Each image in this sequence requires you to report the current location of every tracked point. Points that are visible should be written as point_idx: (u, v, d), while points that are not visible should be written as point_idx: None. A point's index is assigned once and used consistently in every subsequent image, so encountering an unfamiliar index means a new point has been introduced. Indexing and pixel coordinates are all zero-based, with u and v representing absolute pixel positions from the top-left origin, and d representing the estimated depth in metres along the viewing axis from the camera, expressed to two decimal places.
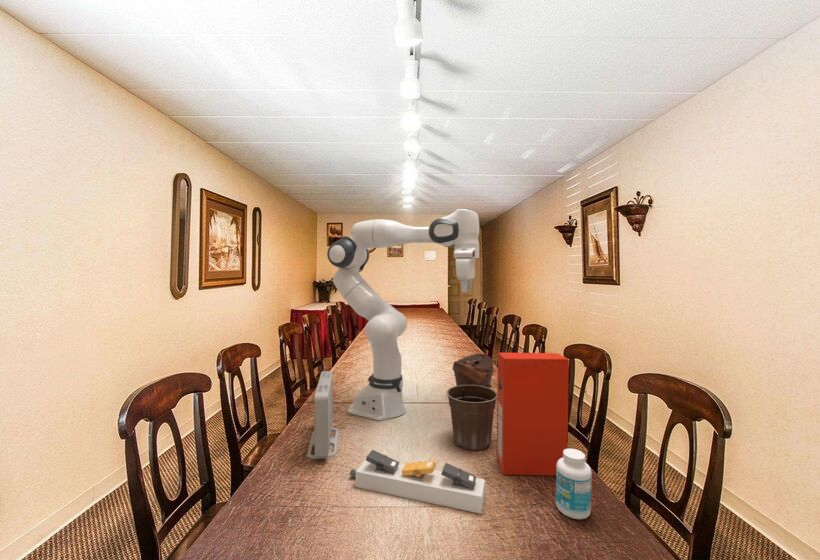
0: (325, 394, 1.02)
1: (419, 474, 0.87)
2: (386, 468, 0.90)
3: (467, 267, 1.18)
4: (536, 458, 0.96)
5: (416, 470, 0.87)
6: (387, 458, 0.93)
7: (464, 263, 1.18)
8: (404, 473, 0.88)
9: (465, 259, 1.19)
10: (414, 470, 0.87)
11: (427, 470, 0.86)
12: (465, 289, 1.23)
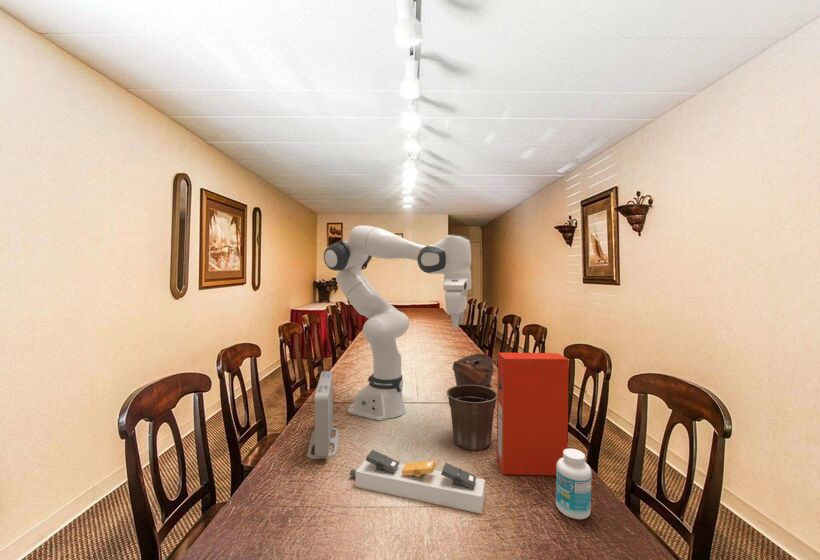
0: (325, 394, 1.02)
1: (419, 474, 0.87)
2: (386, 468, 0.90)
3: (458, 301, 1.06)
4: (536, 458, 0.96)
5: (416, 470, 0.87)
6: (387, 458, 0.93)
7: (454, 296, 1.06)
8: (404, 473, 0.88)
9: (456, 292, 1.07)
10: (414, 470, 0.87)
11: (427, 470, 0.86)
12: (456, 325, 1.10)
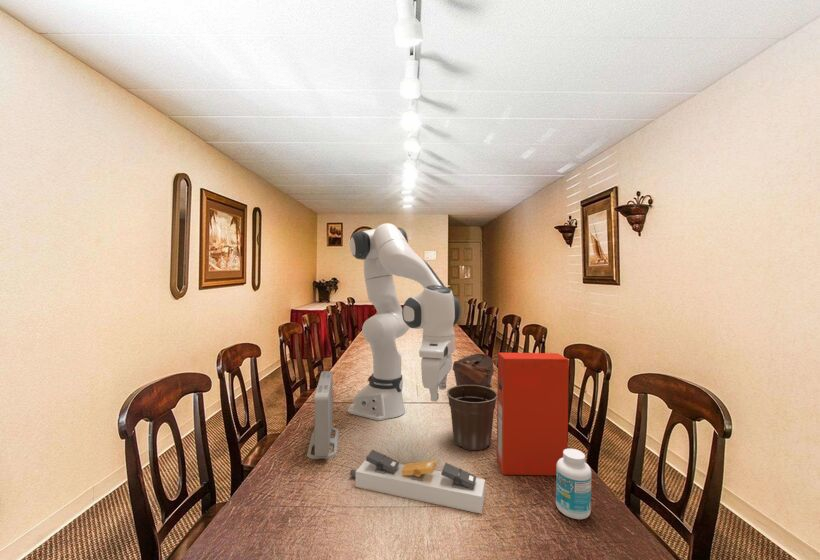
0: (325, 394, 1.02)
1: (419, 474, 0.87)
2: (386, 468, 0.90)
3: (436, 373, 0.87)
4: (536, 458, 0.96)
5: (416, 470, 0.87)
6: (387, 458, 0.93)
7: (432, 366, 0.88)
8: (404, 473, 0.88)
9: (434, 361, 0.88)
10: (414, 470, 0.87)
11: (427, 470, 0.86)
12: (435, 397, 0.92)
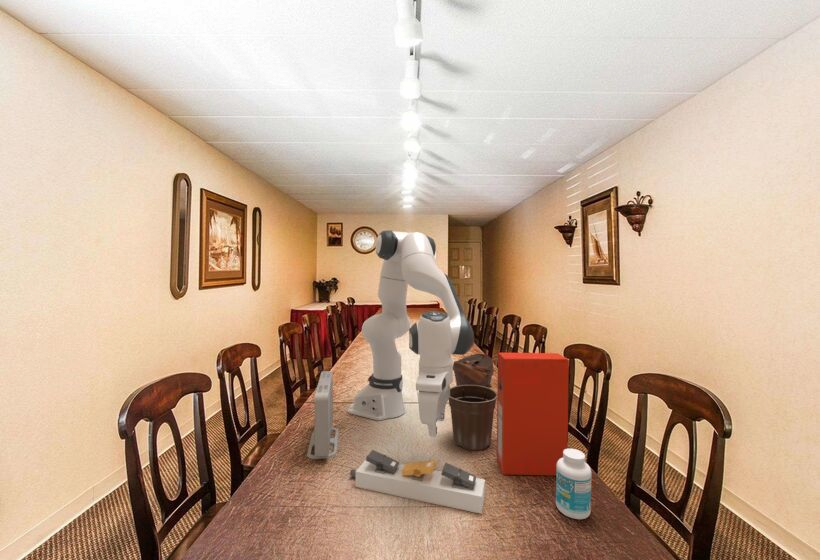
0: (325, 394, 1.02)
1: (419, 474, 0.87)
2: (386, 468, 0.90)
3: (434, 408, 0.82)
4: (536, 458, 0.96)
5: (416, 470, 0.87)
6: (387, 458, 0.93)
7: (430, 401, 0.82)
8: (404, 473, 0.88)
9: (432, 395, 0.83)
10: (414, 470, 0.87)
11: (427, 470, 0.86)
12: (434, 432, 0.86)
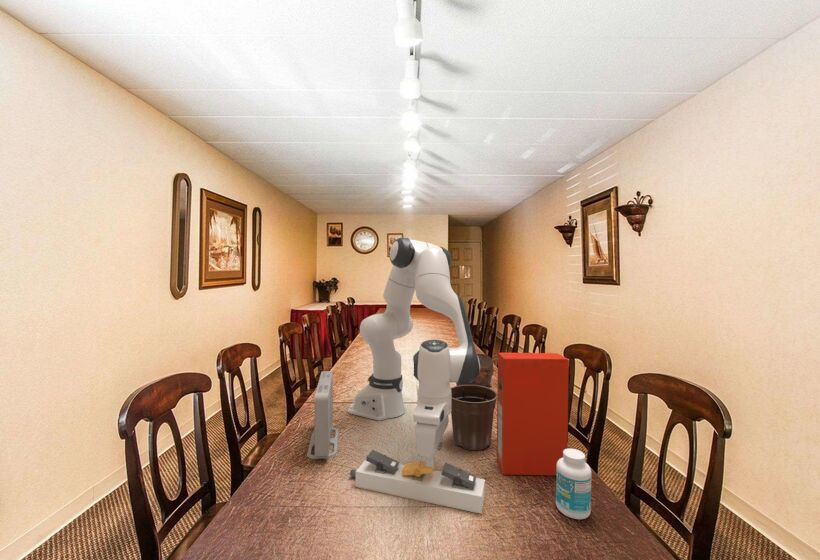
0: (325, 394, 1.02)
1: (419, 474, 0.87)
2: (386, 468, 0.90)
3: (432, 441, 0.82)
4: (536, 458, 0.96)
5: (416, 470, 0.87)
6: (387, 458, 0.93)
7: (427, 434, 0.82)
8: (404, 473, 0.88)
9: (430, 427, 0.83)
10: (414, 470, 0.87)
11: (427, 470, 0.86)
12: (431, 463, 0.86)
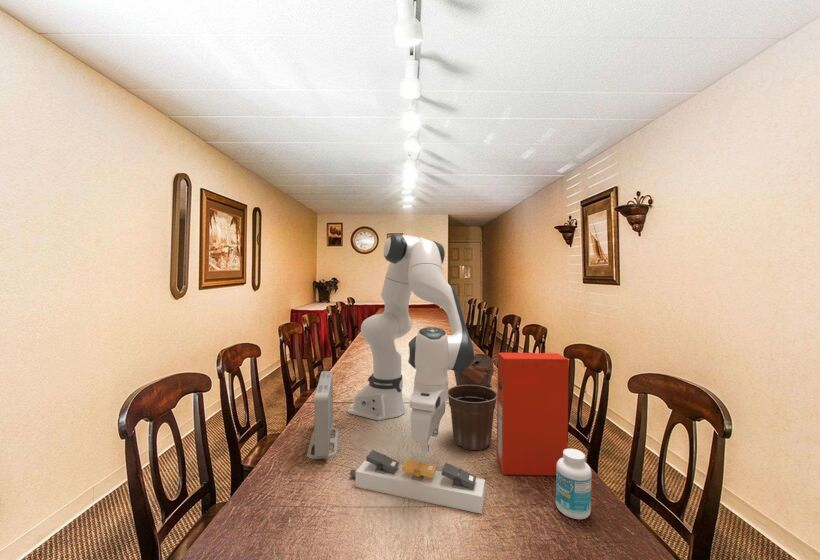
0: (325, 394, 1.02)
1: (419, 475, 0.87)
2: (386, 468, 0.90)
3: (427, 427, 0.82)
4: (536, 458, 0.96)
5: (417, 470, 0.87)
6: (387, 458, 0.93)
7: (422, 420, 0.82)
8: (404, 469, 0.88)
9: (425, 414, 0.83)
10: (415, 469, 0.87)
11: (428, 473, 0.86)
12: (426, 450, 0.86)
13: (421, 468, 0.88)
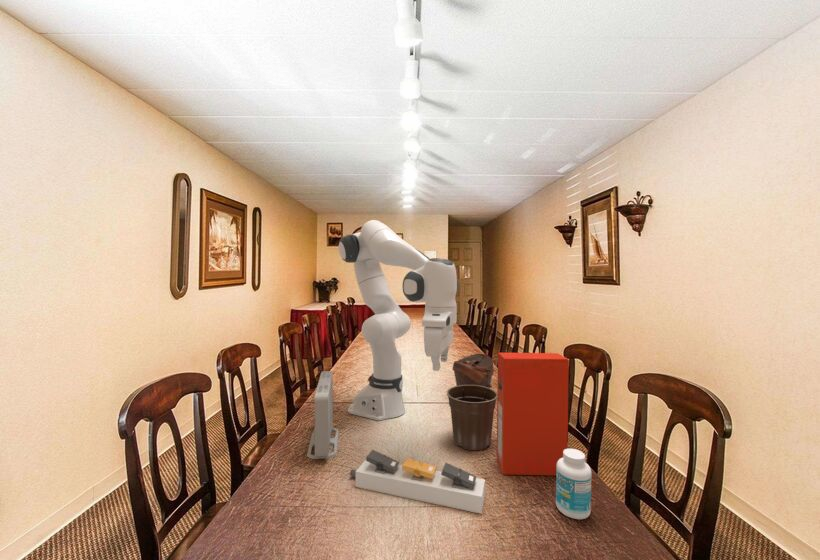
0: (325, 394, 1.02)
1: (419, 475, 0.87)
2: (386, 468, 0.90)
3: (439, 341, 0.89)
4: (536, 458, 0.96)
5: (417, 470, 0.87)
6: (387, 458, 0.93)
7: (434, 335, 0.89)
8: (404, 468, 0.88)
9: (437, 330, 0.90)
10: (415, 469, 0.87)
11: (428, 474, 0.86)
12: (437, 366, 0.93)
13: (421, 468, 0.88)
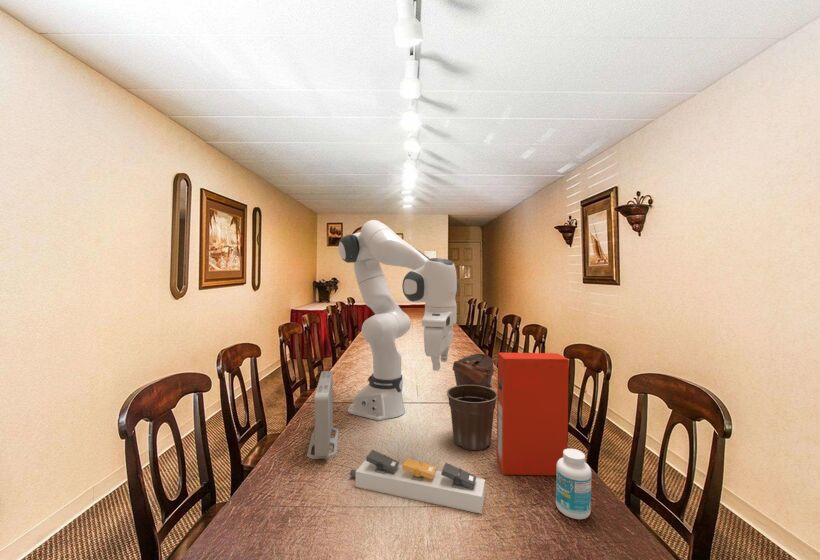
0: (325, 394, 1.02)
1: (419, 475, 0.87)
2: (386, 468, 0.90)
3: (439, 341, 0.89)
4: (536, 458, 0.96)
5: (417, 470, 0.87)
6: (387, 458, 0.93)
7: (434, 335, 0.89)
8: (404, 468, 0.88)
9: (437, 329, 0.90)
10: (415, 469, 0.87)
11: (428, 475, 0.86)
12: (437, 366, 0.93)
13: (421, 468, 0.88)
